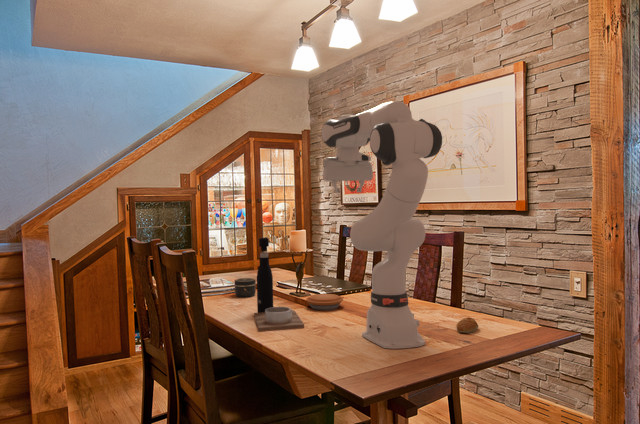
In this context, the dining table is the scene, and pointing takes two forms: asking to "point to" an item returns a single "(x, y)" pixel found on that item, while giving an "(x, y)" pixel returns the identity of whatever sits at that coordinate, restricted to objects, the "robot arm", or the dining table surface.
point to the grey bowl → (278, 315)
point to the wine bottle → (264, 279)
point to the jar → (245, 287)
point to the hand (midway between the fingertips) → (348, 192)
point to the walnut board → (266, 326)
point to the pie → (324, 301)
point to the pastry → (467, 325)
